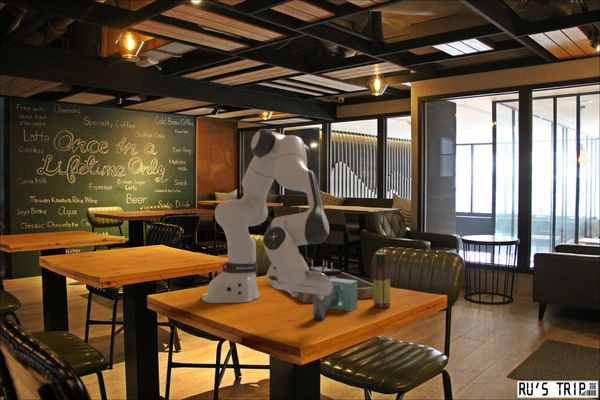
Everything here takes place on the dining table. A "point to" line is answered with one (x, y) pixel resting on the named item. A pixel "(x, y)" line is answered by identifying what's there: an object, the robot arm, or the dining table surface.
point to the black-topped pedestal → (325, 269)
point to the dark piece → (323, 306)
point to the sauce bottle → (381, 282)
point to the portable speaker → (303, 251)
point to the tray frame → (362, 289)
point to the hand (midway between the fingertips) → (308, 296)
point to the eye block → (344, 293)
